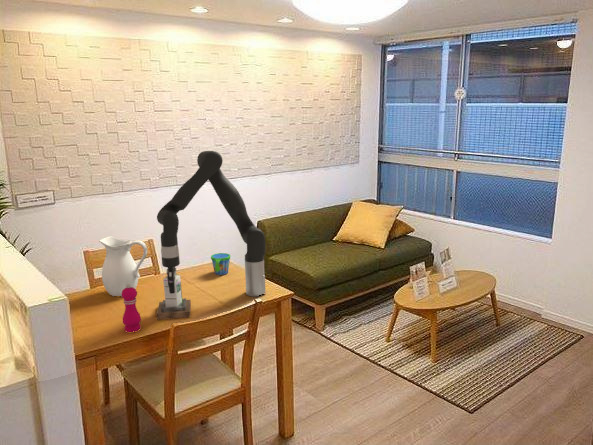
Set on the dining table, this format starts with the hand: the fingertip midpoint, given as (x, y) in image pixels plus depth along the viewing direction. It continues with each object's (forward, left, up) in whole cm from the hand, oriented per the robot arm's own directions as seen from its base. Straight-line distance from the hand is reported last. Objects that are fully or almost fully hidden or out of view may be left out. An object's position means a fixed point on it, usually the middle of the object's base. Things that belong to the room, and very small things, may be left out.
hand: (172, 289), depth 218 cm
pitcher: (+24, -28, -11) cm, 38 cm away
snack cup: (-22, -49, -11) cm, 55 cm away
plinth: (0, 0, -11) cm, 11 cm away
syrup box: (0, 0, -8) cm, 8 cm away
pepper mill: (+16, +15, -11) cm, 24 cm away
